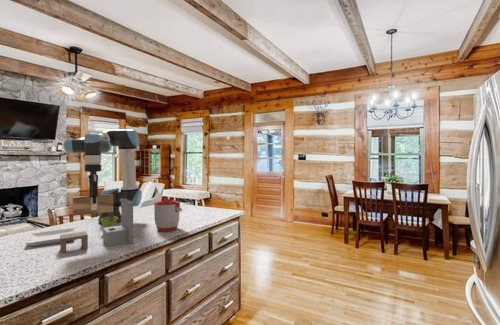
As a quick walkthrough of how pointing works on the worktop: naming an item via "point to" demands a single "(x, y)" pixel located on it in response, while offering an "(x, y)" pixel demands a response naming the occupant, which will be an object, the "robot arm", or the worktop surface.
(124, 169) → the robot arm
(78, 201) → the wooden board
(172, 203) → the citrus juicer
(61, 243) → the trestle
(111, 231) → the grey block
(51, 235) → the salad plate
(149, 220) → the worktop surface
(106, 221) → the plant pot
